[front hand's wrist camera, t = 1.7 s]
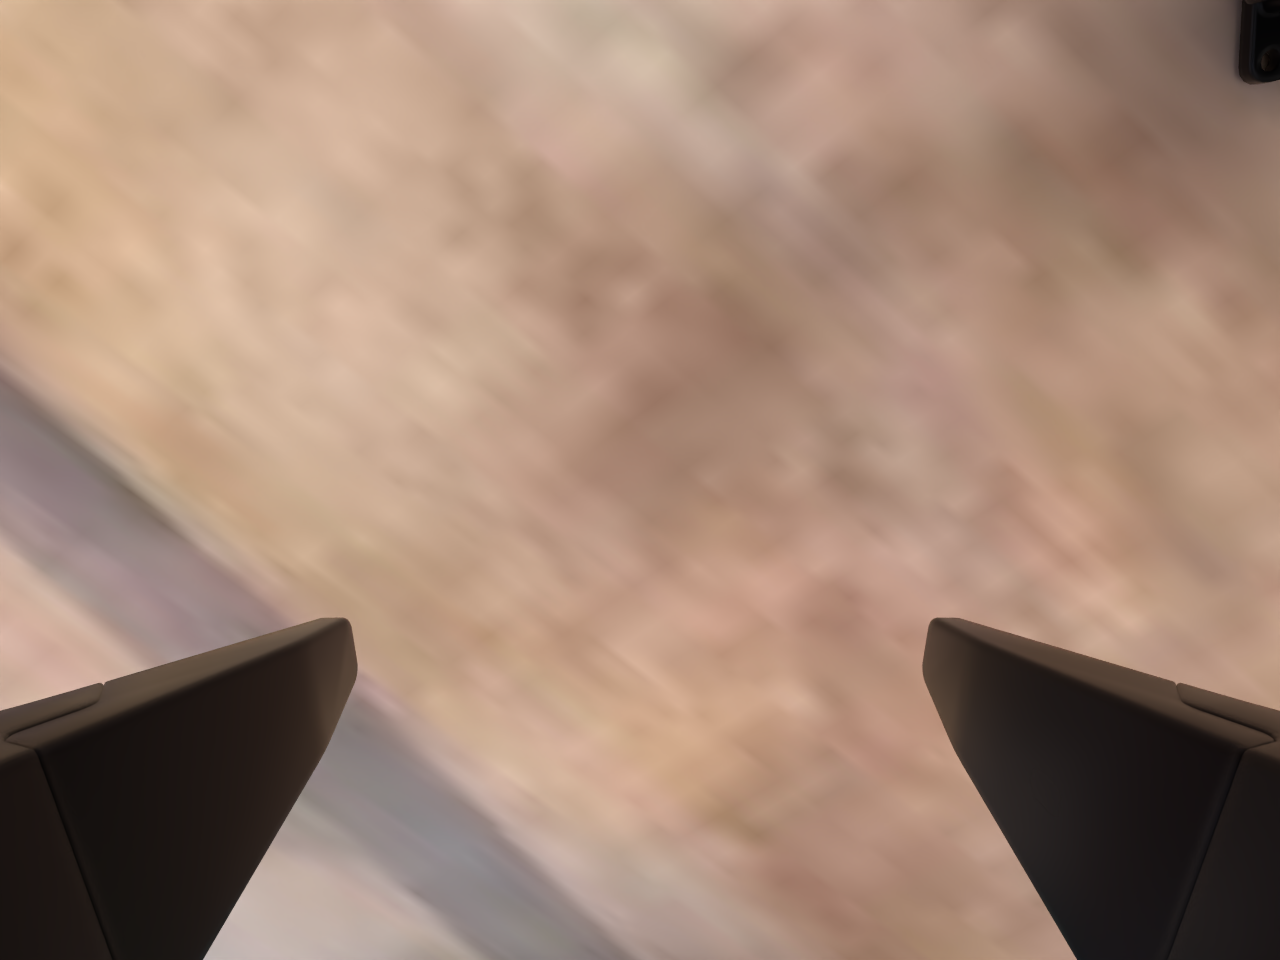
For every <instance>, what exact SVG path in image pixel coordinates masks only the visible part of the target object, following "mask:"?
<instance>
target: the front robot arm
mask: <svg viewBox="0 0 1280 960" xmlns="http://www.w3.org/2000/svg"><path fill="white" fill-rule="evenodd" d="M1265 53H1267V54H1268V55H1269V64H1268V66H1267V68H1266V69H1265V70H1263V69H1262V68H1261V59H1262V56H1263V55H1264V54H1265ZM1239 74H1240V77H1241V78H1242V79H1243V81H1244V82H1246V83H1248V84H1261V83H1267V82H1272V81H1276V80H1280V0H1242V16H1241V34H1240V52H1239ZM356 676H357V658H356V651H355V645H354V639H353V633H352V627H351V624H350V622H349V621H348V620H347V619H346V618H320V619H316V620H313V621H310V622H306V623H303V624H300V625H296V626H293V627H289V628H286V629H283V630H279V631H276V632H273V633H269V634H266V635H262V636H259V637H256V638H252V639H249V640H245V641H242V642H239V643H235V644H232V645H229V646H225V647H222V648H218V649H215V650H212V651H208V652H205V653H202V654H198V655H195V656H191V657H188V658H185V659H181V660H178V661H175V662H171V663H168V664H164V665H161V666H158V667H154V668H151V669H148V670H144V671H141V672H137V673H134V674H131V675H127V676H124V677H120V678H117V679H114V680H110V681H107V682H105V684H104V686H103V684H102V683H97V684H93V685H90V686H87V687H83V688H80V689H76V690H73V691H70V692H66V693H63V694H59V695H56V696H52V697H49V698H45V699H42V700H38V701H35V702H31V703H27V704H24V705H20V706H16V707H13V708H9V709H5V710H2V711H0V960H203V959H204V957H205V955H206V954H207V952H208V950H209V948H210V947H211V945H212V943H213V942H214V940H215V938H216V936H217V935H218V933H219V931H220V930H221V928H222V926H223V925H224V923H225V921H226V919H227V918H228V916H229V914H230V913H231V911H232V909H233V908H234V906H235V904H236V902H237V901H238V899H239V897H240V896H241V894H242V892H243V891H244V889H245V887H246V885H247V884H248V882H249V880H250V879H251V877H252V875H253V874H254V872H255V870H256V868H257V867H258V865H259V863H260V862H261V860H262V858H263V856H264V855H265V853H266V851H267V850H268V848H269V846H270V845H271V843H272V841H273V839H274V838H275V836H276V834H277V833H278V831H279V829H280V828H281V826H282V824H283V822H284V821H285V819H286V817H287V816H288V814H289V812H290V811H291V809H292V807H293V805H294V804H295V802H296V800H297V799H298V797H299V795H300V794H301V792H302V790H303V788H304V787H305V785H306V783H307V782H308V780H309V778H310V777H311V775H312V773H313V771H314V770H315V768H316V766H317V765H318V763H319V761H320V759H321V757H322V756H323V754H324V752H325V750H326V748H327V746H328V744H329V742H330V739H331V737H332V735H333V732H334V730H335V728H336V725H337V723H338V721H339V718H340V716H341V714H342V711H343V709H344V707H345V704H346V702H347V700H348V697H349V695H350V693H351V690H352V688H353V686H354V683H355V680H356ZM923 676H924V680H925V683H926V686H927V688H928V690H929V693H930V695H931V697H932V700H933V702H934V704H935V707H936V709H937V711H938V714H939V716H940V718H941V721H942V723H943V725H944V728H945V730H946V732H947V735H948V737H949V739H950V742H951V744H952V746H953V748H954V750H955V752H956V754H957V756H958V757H959V759H960V761H961V763H962V765H963V766H964V768H965V770H966V771H967V773H968V775H969V777H970V778H971V780H972V782H973V783H974V785H975V787H976V788H977V790H978V792H979V794H980V795H981V797H982V799H983V800H984V802H985V804H986V805H987V807H988V809H989V811H990V812H991V814H992V816H993V817H994V819H995V821H996V822H997V824H998V826H999V828H1000V829H1001V831H1002V833H1003V834H1004V836H1005V838H1006V839H1007V841H1008V843H1009V845H1010V846H1011V848H1012V850H1013V851H1014V853H1015V855H1016V857H1017V858H1018V860H1019V862H1020V863H1021V865H1022V867H1023V868H1024V870H1025V872H1026V874H1027V875H1028V877H1029V879H1030V880H1031V882H1032V884H1033V885H1034V887H1035V889H1036V891H1037V892H1038V894H1039V896H1040V897H1041V899H1042V901H1043V902H1044V904H1045V906H1046V908H1047V909H1048V911H1049V913H1050V914H1051V916H1052V918H1053V919H1054V921H1055V923H1056V925H1057V926H1058V928H1059V930H1060V931H1061V933H1062V935H1063V936H1064V938H1065V940H1066V942H1067V943H1068V945H1069V947H1070V948H1071V950H1072V952H1073V954H1074V955H1075V957H1076V959H1077V960H1280V711H1278V710H1275V709H1271V708H1267V707H1264V706H1260V705H1256V704H1253V703H1249V702H1245V701H1242V700H1238V699H1235V698H1231V697H1228V696H1224V695H1221V694H1217V693H1214V692H1210V691H1207V690H1204V689H1200V688H1197V687H1193V686H1190V685H1187V684H1183V683H1178V684H1177V686H1176V684H1175V682H1173V681H1170V680H1166V679H1163V678H1160V677H1156V676H1153V675H1149V674H1146V673H1143V672H1139V671H1136V670H1132V669H1129V668H1126V667H1122V666H1119V665H1116V664H1112V663H1109V662H1105V661H1102V660H1099V659H1095V658H1092V657H1089V656H1085V655H1082V654H1078V653H1075V652H1072V651H1068V650H1065V649H1062V648H1058V647H1055V646H1051V645H1048V644H1045V643H1041V642H1038V641H1035V640H1031V639H1028V638H1024V637H1021V636H1018V635H1014V634H1011V633H1007V632H1004V631H1001V630H997V629H994V628H991V627H987V626H984V625H980V624H977V623H974V622H970V621H967V620H964V619H960V618H934V619H933V620H932V621H931V622H930V624H929V627H928V633H927V639H926V645H925V651H924V658H923Z"/></svg>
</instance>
